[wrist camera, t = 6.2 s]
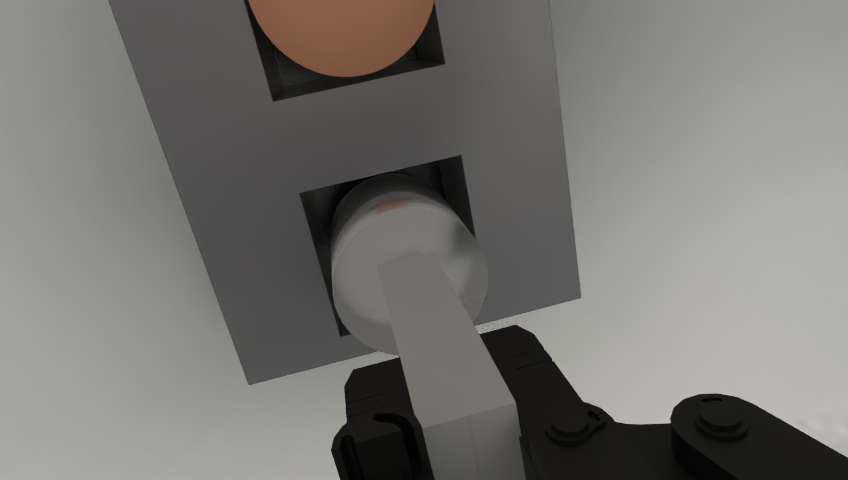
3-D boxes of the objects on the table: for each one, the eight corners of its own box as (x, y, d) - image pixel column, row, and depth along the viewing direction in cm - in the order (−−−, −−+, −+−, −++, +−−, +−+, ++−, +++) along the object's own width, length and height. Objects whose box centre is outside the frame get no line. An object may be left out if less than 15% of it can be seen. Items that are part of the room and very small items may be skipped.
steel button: (442, 160, 20) (474, 193, 15) (463, 275, 21) (498, 333, 17) (315, 190, 19) (314, 232, 15) (347, 305, 21) (353, 371, 17)
